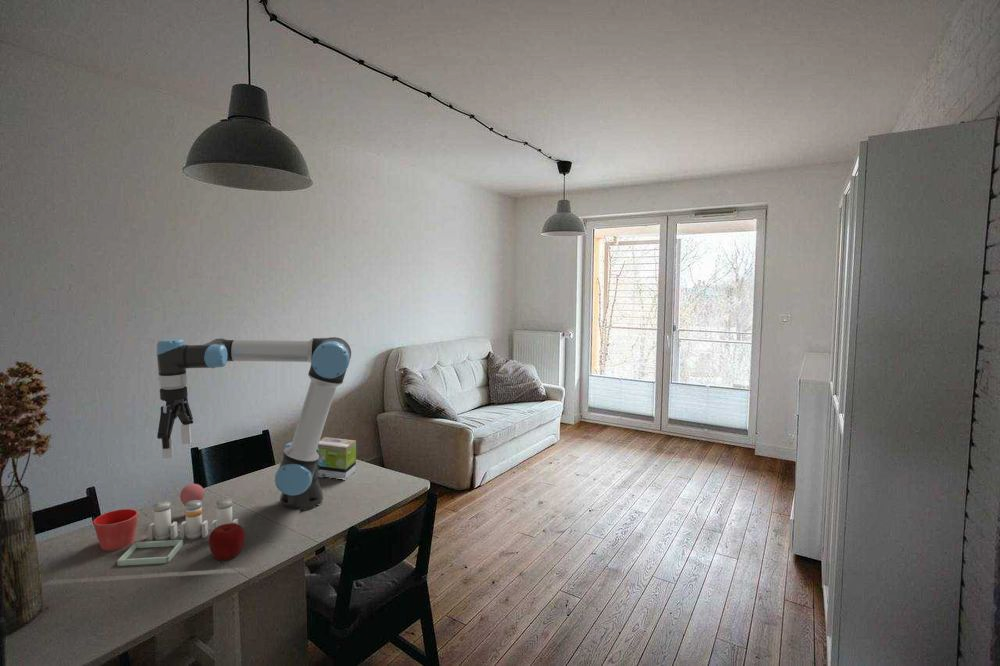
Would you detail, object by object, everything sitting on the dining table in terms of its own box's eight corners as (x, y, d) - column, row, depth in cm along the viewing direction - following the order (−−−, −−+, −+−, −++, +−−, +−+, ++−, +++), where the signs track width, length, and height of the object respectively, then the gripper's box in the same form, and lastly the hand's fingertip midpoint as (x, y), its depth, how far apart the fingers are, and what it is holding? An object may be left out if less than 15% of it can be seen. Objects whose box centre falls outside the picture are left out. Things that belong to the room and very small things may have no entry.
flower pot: (101, 541, 160) (99, 511, 159) (142, 535, 165) (141, 506, 164) (89, 558, 151) (87, 527, 150) (134, 552, 155) (133, 521, 154)
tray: (183, 547, 158) (183, 539, 158) (168, 565, 149) (168, 557, 148) (135, 550, 156) (135, 542, 156) (117, 569, 146) (117, 560, 146)
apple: (221, 548, 159) (220, 517, 158) (251, 549, 159) (251, 519, 157) (202, 565, 149) (201, 532, 148) (234, 567, 149) (234, 534, 148)
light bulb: (193, 524, 173) (192, 490, 172) (175, 521, 174) (174, 487, 173) (209, 514, 180) (208, 481, 178) (192, 512, 181) (191, 479, 180)
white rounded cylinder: (234, 530, 168) (234, 498, 166) (230, 537, 163) (229, 504, 162) (219, 531, 167) (219, 499, 166) (214, 538, 162) (214, 505, 161)
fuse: (174, 533, 164) (173, 500, 163) (168, 540, 160) (166, 507, 159) (158, 534, 164) (157, 501, 162) (152, 541, 159) (150, 507, 158)
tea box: (312, 477, 215) (312, 443, 214) (324, 468, 225) (324, 436, 223) (345, 481, 213) (346, 446, 211) (356, 472, 223) (356, 439, 221)
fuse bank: (243, 530, 170) (243, 514, 169) (236, 543, 162) (235, 526, 161) (153, 535, 165) (153, 518, 164) (141, 548, 157) (140, 531, 156)
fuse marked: (205, 532, 166) (204, 499, 165) (199, 539, 162) (198, 506, 160) (189, 532, 165) (188, 500, 164) (183, 540, 161) (182, 506, 159)
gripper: (177, 379, 177) (181, 438, 180) (140, 396, 153) (145, 465, 155) (201, 378, 178) (204, 437, 181) (168, 395, 154) (173, 463, 156)
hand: (177, 450), depth 168 cm, fingers open, 13 cm apart
